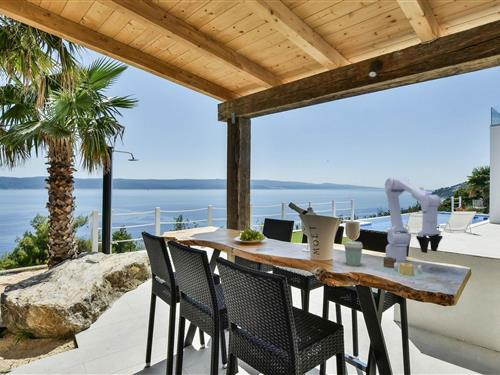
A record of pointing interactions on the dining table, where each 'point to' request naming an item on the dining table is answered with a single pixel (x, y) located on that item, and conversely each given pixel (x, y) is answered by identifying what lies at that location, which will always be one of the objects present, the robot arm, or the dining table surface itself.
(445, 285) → the dining table surface
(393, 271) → the gear board
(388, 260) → the gear
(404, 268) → the pale yellow block
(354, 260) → the coffee cup
